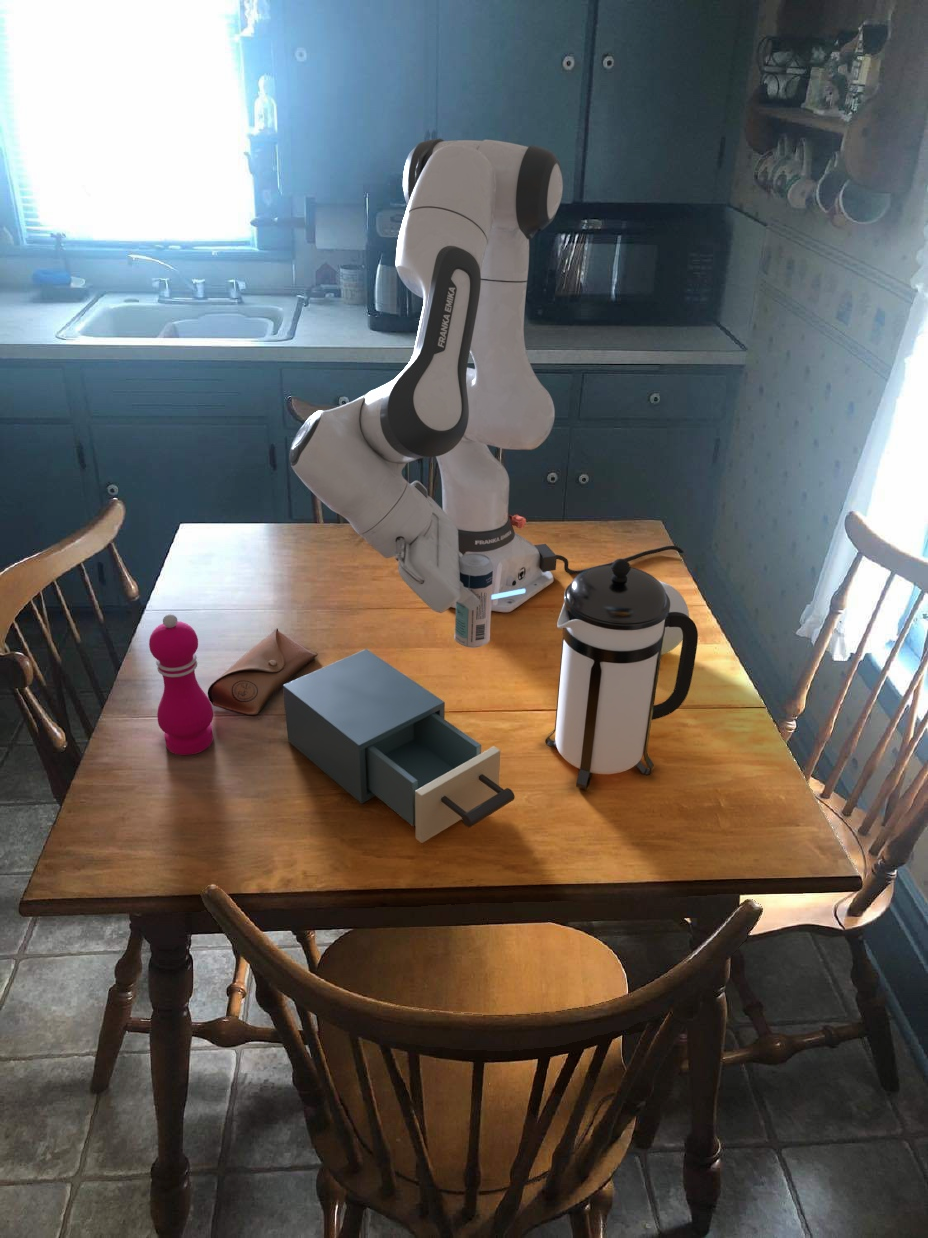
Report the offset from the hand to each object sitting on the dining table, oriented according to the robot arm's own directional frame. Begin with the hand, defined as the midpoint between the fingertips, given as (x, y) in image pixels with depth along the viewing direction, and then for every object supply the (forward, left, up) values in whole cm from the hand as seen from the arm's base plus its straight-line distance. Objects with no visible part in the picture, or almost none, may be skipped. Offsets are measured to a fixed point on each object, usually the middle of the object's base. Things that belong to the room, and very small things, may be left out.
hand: (475, 593), depth 122 cm
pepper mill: (+31, -23, -22) cm, 44 cm away
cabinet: (+14, -6, -22) cm, 26 cm away
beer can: (0, 0, -7) cm, 7 cm away
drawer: (+14, +9, -21) cm, 27 cm away
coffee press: (-10, +16, -22) cm, 29 cm away
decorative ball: (-35, +3, -22) cm, 41 cm away
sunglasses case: (+15, -29, -22) cm, 39 cm away
